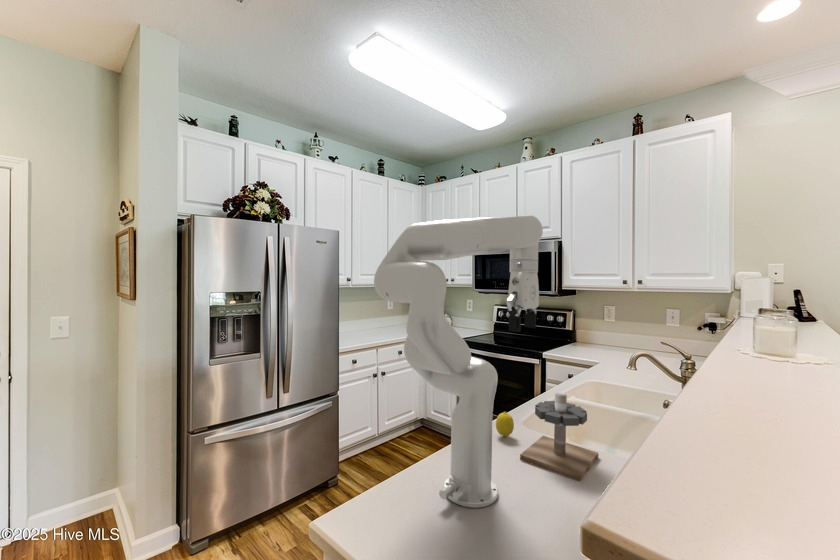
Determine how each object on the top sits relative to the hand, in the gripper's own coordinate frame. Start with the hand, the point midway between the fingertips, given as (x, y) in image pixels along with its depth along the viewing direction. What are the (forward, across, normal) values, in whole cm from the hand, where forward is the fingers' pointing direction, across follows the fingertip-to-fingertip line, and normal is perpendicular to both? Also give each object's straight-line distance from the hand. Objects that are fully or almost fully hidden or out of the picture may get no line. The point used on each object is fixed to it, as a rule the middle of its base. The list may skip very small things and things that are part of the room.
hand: (522, 329), depth 101 cm
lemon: (+36, +10, +10) cm, 39 cm away
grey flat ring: (+24, +8, -8) cm, 27 cm away
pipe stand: (+36, +8, -8) cm, 38 cm away
